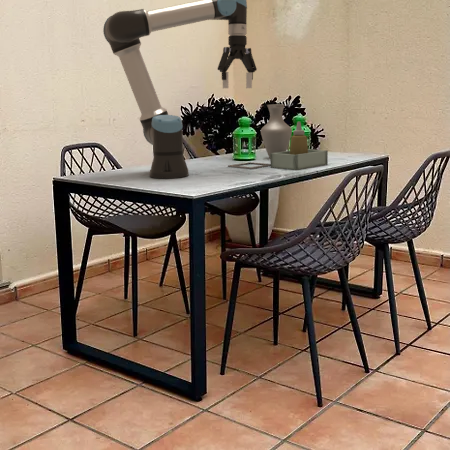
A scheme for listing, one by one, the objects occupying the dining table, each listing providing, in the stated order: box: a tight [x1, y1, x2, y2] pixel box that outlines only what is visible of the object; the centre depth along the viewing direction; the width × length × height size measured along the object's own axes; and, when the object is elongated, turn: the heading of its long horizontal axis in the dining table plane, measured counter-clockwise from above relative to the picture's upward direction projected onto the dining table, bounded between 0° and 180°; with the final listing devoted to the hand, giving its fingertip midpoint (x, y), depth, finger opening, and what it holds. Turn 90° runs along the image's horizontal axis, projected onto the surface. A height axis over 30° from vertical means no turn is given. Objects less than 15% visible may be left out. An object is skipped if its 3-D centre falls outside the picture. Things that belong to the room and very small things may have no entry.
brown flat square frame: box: [227, 161, 271, 170], centre depth 274 cm, size 14×14×1 cm
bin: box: [269, 148, 329, 171], centre depth 269 cm, size 21×14×6 cm, turn 134°
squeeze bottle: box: [289, 121, 309, 155], centre depth 268 cm, size 8×8×18 cm
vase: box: [260, 103, 293, 159], centre depth 297 cm, size 14×14×25 cm
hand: (237, 88), depth 266 cm, fingers open, 13 cm apart
